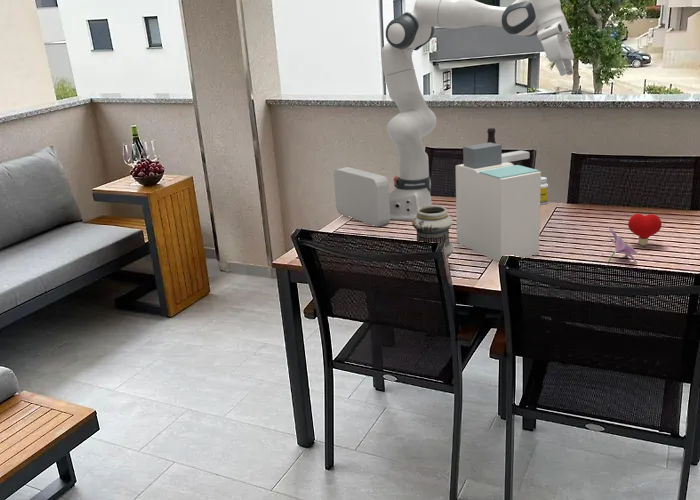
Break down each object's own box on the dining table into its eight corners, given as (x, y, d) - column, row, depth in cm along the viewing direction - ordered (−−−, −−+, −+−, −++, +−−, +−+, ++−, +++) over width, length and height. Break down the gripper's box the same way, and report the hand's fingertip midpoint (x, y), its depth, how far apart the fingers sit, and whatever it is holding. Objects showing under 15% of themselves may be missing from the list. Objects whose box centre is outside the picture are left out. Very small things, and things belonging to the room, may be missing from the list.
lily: (635, 275, 185) (651, 244, 184) (595, 257, 187) (610, 226, 186) (628, 272, 196) (643, 243, 195) (590, 255, 199) (604, 226, 198)
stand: (492, 234, 223) (492, 158, 215) (538, 254, 203) (541, 170, 194) (456, 242, 218) (455, 164, 210) (500, 263, 197) (501, 178, 189)
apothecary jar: (419, 276, 192) (417, 216, 186) (409, 262, 204) (406, 206, 198) (459, 271, 194) (458, 211, 188) (446, 257, 205) (445, 201, 199)
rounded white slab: (395, 223, 243) (393, 175, 237) (378, 228, 239) (376, 179, 233) (352, 209, 266) (349, 164, 260) (336, 213, 262) (333, 168, 256)
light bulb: (658, 242, 205) (661, 211, 202) (660, 250, 199) (663, 218, 195) (626, 241, 208) (628, 210, 205) (627, 248, 202) (629, 217, 198)
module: (519, 156, 215) (519, 137, 213) (531, 158, 210) (531, 140, 208) (463, 165, 208) (463, 146, 206) (474, 168, 202) (474, 149, 200)
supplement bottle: (532, 204, 254) (532, 179, 251) (534, 200, 259) (534, 176, 256) (547, 204, 252) (547, 179, 249) (548, 201, 257) (549, 176, 254)
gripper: (551, 37, 215) (564, 78, 216) (535, 34, 198) (549, 79, 199) (570, 29, 212) (584, 70, 213) (555, 25, 195) (570, 71, 196)
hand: (567, 74), depth 206 cm, fingers open, 8 cm apart
